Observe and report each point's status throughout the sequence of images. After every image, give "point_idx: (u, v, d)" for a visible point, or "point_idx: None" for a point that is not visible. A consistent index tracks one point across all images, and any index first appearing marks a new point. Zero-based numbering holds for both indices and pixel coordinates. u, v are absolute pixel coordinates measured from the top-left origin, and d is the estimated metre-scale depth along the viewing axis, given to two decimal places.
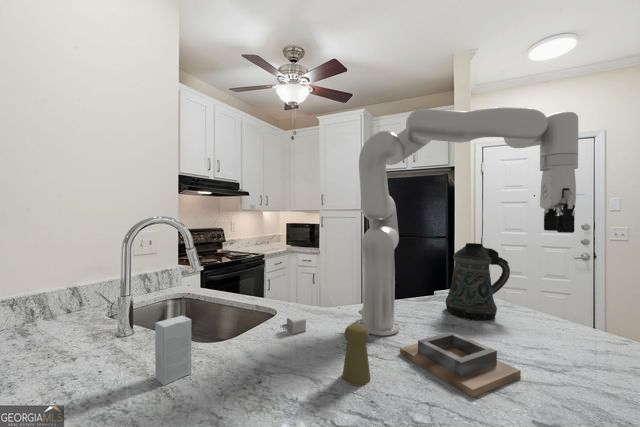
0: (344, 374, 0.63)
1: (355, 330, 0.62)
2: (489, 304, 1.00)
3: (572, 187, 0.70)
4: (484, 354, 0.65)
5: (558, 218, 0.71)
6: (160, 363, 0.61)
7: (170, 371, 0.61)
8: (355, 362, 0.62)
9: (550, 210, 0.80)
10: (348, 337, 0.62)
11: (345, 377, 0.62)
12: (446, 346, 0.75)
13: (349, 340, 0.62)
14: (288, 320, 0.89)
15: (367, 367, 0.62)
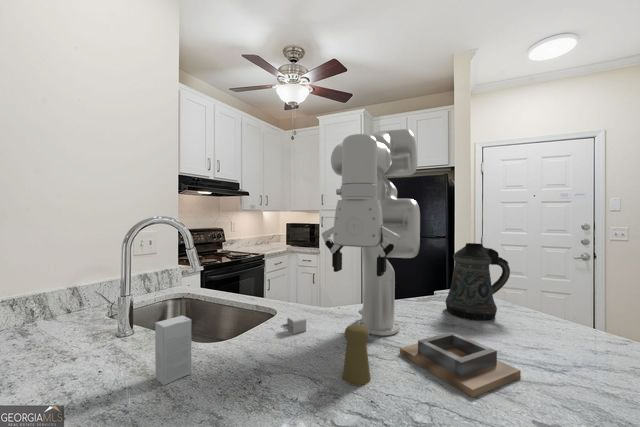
0: (344, 374, 0.63)
1: (355, 330, 0.62)
2: (489, 304, 1.00)
3: (382, 224, 0.63)
4: (484, 354, 0.65)
5: (379, 260, 0.60)
6: (160, 363, 0.61)
7: (170, 371, 0.61)
8: (355, 362, 0.61)
9: None
10: (347, 337, 0.62)
11: (345, 377, 0.62)
12: (446, 346, 0.75)
13: (349, 340, 0.62)
14: (288, 320, 0.89)
15: (367, 367, 0.62)
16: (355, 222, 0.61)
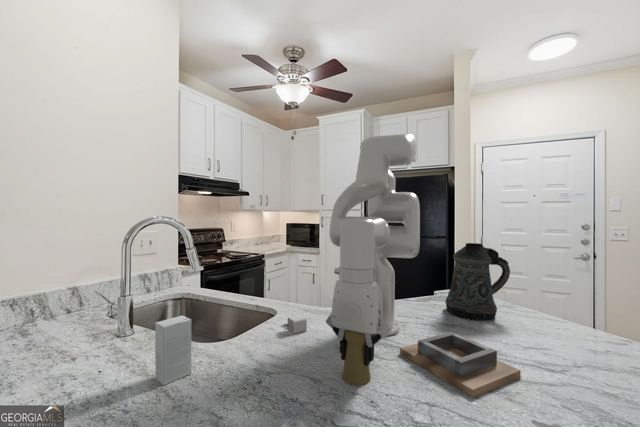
0: (344, 374, 0.63)
1: None
2: (489, 304, 1.00)
3: (380, 307, 0.63)
4: (484, 354, 0.65)
5: (367, 350, 0.61)
6: (160, 363, 0.61)
7: (170, 371, 0.61)
8: (355, 362, 0.61)
9: None
10: (347, 337, 0.62)
11: (345, 377, 0.62)
12: (446, 346, 0.75)
13: (349, 340, 0.62)
14: (288, 320, 0.89)
15: (367, 367, 0.62)
16: (353, 307, 0.61)
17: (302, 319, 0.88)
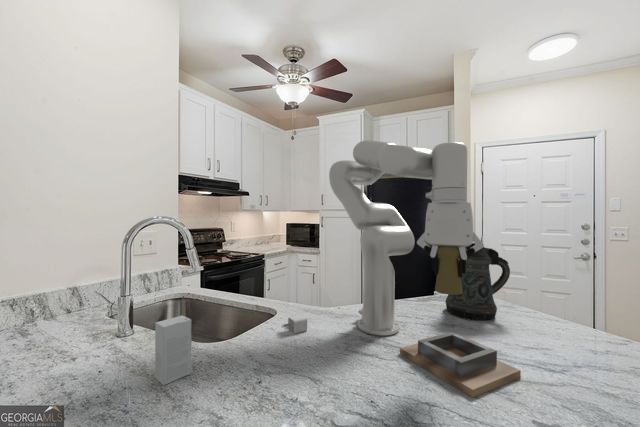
0: (438, 287, 0.68)
1: None
2: (489, 304, 1.00)
3: None
4: (484, 354, 0.65)
5: (461, 262, 0.67)
6: (160, 363, 0.61)
7: (170, 371, 0.61)
8: (450, 274, 0.67)
9: None
10: (442, 252, 0.68)
11: (440, 289, 0.68)
12: (446, 346, 0.75)
13: (444, 254, 0.67)
14: (289, 319, 0.89)
15: (460, 280, 0.68)
16: (448, 223, 0.67)
17: (303, 319, 0.88)
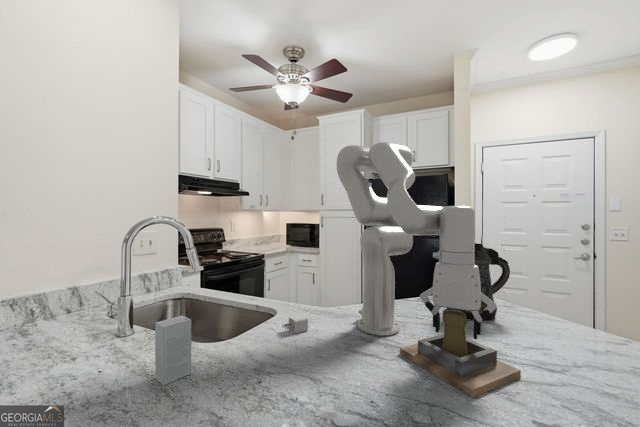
0: None
1: (455, 314, 0.68)
2: None
3: None
4: (484, 354, 0.65)
5: (476, 324, 0.66)
6: (160, 363, 0.61)
7: (170, 371, 0.61)
8: (457, 343, 0.67)
9: None
10: (448, 321, 0.68)
11: None
12: None
13: (450, 324, 0.68)
14: (289, 319, 0.89)
15: (466, 348, 0.68)
16: (456, 287, 0.67)
17: (303, 319, 0.88)
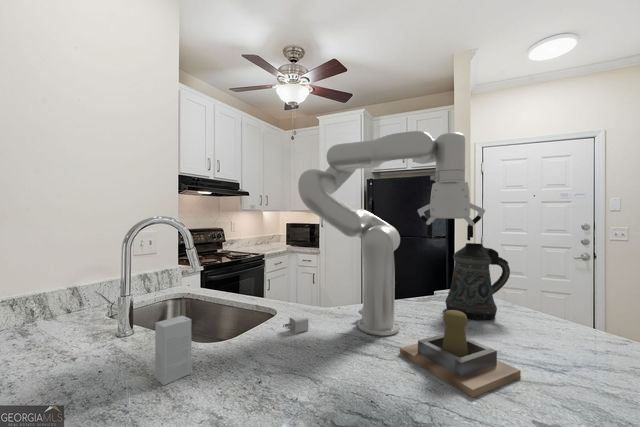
0: None
1: (456, 314, 0.68)
2: (489, 304, 1.00)
3: None
4: (484, 354, 0.65)
5: (470, 228, 0.80)
6: (160, 363, 0.61)
7: (170, 371, 0.61)
8: (457, 343, 0.67)
9: None
10: (449, 321, 0.68)
11: None
12: None
13: (450, 324, 0.68)
14: (290, 319, 0.89)
15: (467, 349, 0.68)
16: (450, 199, 0.81)
17: (304, 319, 0.88)
